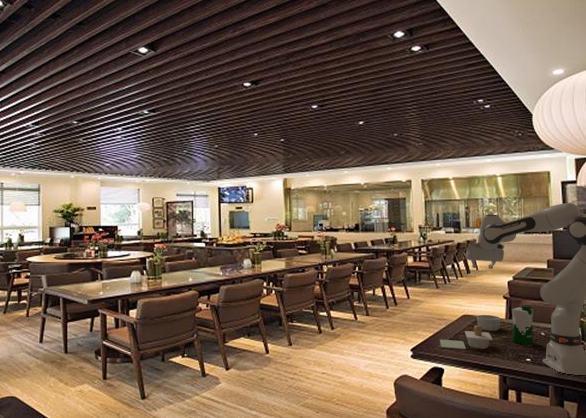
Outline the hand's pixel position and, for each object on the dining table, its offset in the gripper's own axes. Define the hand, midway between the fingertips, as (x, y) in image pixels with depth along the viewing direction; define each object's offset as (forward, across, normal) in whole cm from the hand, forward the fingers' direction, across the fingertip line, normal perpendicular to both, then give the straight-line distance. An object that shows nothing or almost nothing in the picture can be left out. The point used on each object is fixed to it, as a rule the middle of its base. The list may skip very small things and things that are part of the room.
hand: (482, 268), depth 230 cm
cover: (+34, -4, -13) cm, 36 cm away
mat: (+40, -16, -10) cm, 44 cm away
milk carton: (+38, +24, -11) cm, 46 cm away
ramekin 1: (+39, -3, -14) cm, 42 cm away
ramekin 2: (+43, +22, +17) cm, 51 cm away
